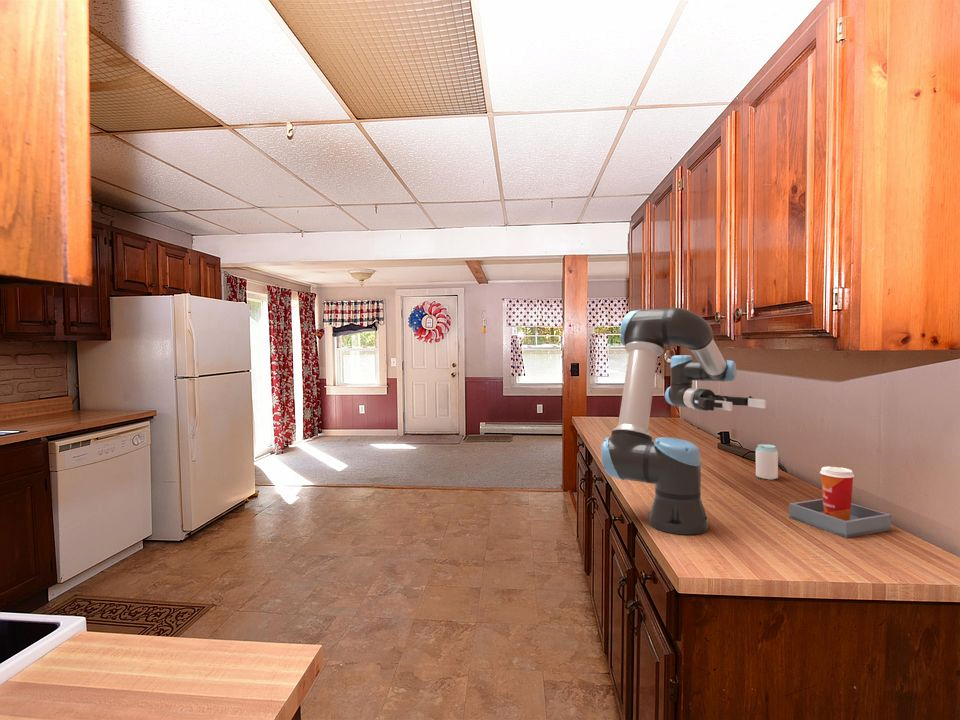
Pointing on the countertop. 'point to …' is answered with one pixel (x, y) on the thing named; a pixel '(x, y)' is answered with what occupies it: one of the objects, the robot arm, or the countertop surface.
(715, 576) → the countertop surface
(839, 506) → the paper cup
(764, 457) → the can
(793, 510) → the box
